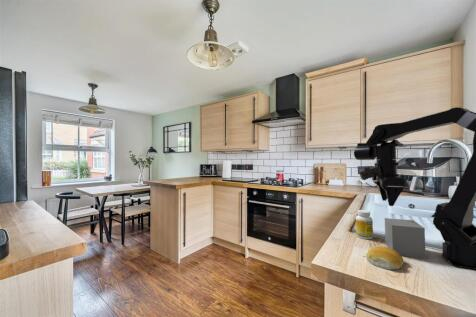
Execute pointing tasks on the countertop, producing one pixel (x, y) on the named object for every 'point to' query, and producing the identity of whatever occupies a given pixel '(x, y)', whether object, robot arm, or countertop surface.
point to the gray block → (405, 237)
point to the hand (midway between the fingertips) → (387, 203)
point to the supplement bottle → (364, 225)
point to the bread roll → (385, 258)
